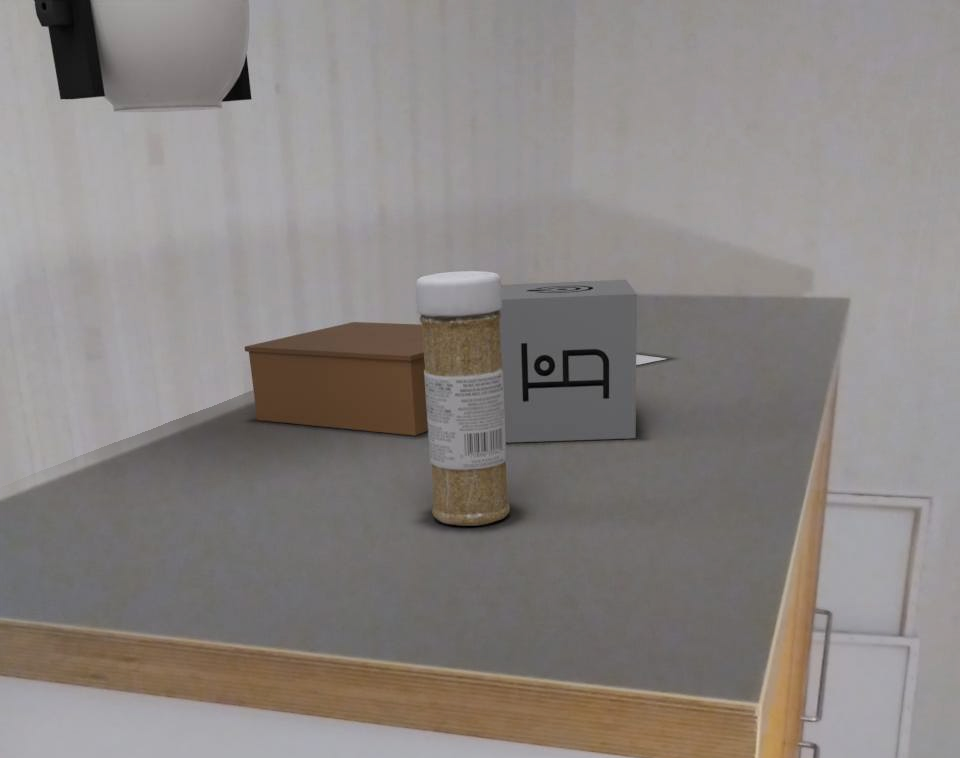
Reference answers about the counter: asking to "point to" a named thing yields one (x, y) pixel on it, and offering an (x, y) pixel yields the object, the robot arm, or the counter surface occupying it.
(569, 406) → the icon cube
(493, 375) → the sprinkles bottle
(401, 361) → the takeaway box
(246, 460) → the counter surface
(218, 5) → the trinket box
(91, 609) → the counter surface
